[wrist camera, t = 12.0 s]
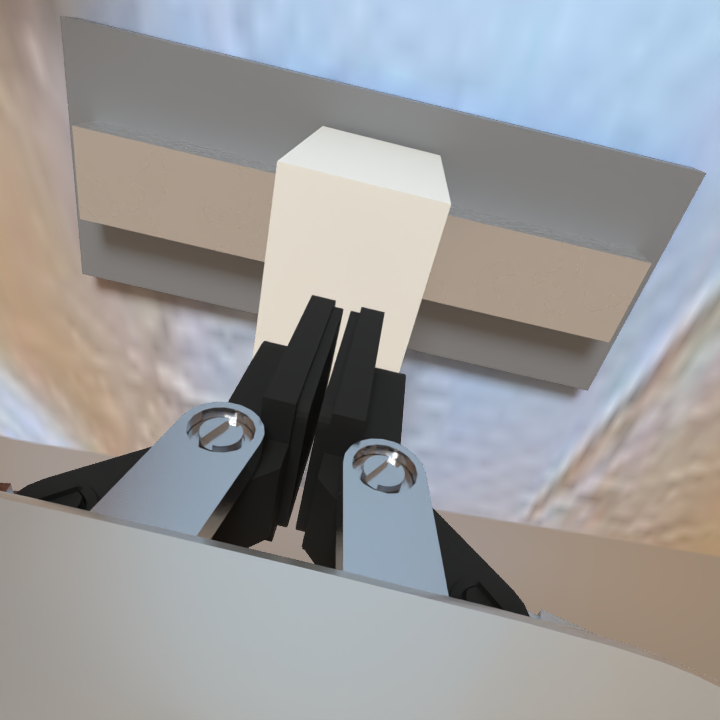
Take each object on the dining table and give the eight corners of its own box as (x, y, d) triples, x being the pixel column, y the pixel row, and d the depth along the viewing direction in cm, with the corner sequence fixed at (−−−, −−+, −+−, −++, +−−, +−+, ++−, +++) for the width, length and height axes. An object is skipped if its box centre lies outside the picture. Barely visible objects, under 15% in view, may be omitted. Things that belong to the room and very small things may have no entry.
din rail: (637, 250, 20) (651, 263, 19) (598, 326, 22) (609, 342, 21) (93, 120, 20) (71, 125, 19) (99, 209, 22) (79, 218, 20)
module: (440, 155, 19) (450, 204, 13) (390, 330, 23) (380, 431, 17) (323, 125, 19) (277, 161, 13) (293, 306, 23) (247, 399, 17)
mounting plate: (693, 168, 20) (706, 173, 19) (581, 378, 25) (587, 390, 24) (76, 17, 19) (60, 16, 18) (94, 265, 24) (82, 273, 23)
